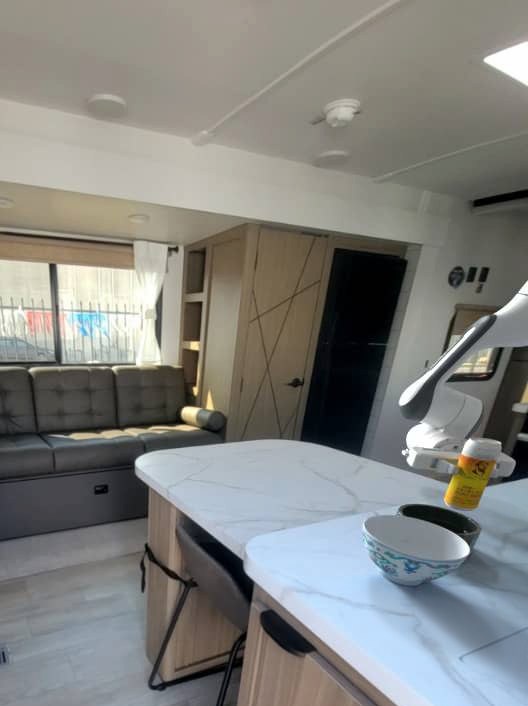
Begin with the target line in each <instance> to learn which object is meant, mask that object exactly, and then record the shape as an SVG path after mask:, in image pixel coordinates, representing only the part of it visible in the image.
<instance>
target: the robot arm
mask: <svg viewBox="0 0 528 706" xmlns="http://www.w3.org/2000/svg"><path fill="white" fill-rule="evenodd" d="M521 347H528V280H527V281H526V282H525V283H524V285H523V286H522V287H521V288H520V290H519V291H518V292H517V293H516V294H515V295H514V297H513V298H512V299H511V300H510V301H509V302H508V303H507V304H506V305H504V306H503V307H502V308H501V309H499V310H498V311H496V312H494V313H493V314H486V315H484V316H482V317H480V318H479V319H477V320H476V321H475V322H473V324H472V325H470V326H469V327H468V328H467V329H466V330H465V331H464V332H463V333H462V334H461V335H460V336H459V337H458V338H457V339H456V340H455V341H454V342H453V343H452V344H451V345H450V346H448V348H447V349H446V350H445V351H444V353H443V354H441V355H440V357H439V358H437V359H436V361H434V363H433V364H432V365H431V366H430V367H428V369H427V370H426V371H425V372H424V373H423V374H421V376H419V377H418V378H417V379H416V380H414V381H413V382H412V383H411V384H410V385H409V386H407V388H406V389H405V390H404V392H402V394H401V395H400V397H399V400H398V408H399V412H400V414H401V415H402V417H403V418H404V419H405V420H409V421H413V422H416V423H420V424H417V425H414V426H413V427H412V428H411V429H410V430H409V431H408V433H407V434H406V438H405V439H406V440H405V442H406V447H407V448H406V449H403V450H402V451H401V454H402V455H403V456H404V457H406V462H407V464H408V465H409V466H410V467H411V468H413V469H417V470H426V471H434V472H436V473H440V474H450V475H453V474H459V471H460V469H461V468H460V467H459V466H458V465H457V464H458V461H459V458H460V456H461V453H462V451H463V448H464V445H465V443H466V442H467V441H468V440H469V439H470V438H472V436H473V435H474V434H475V433H476V432H477V430H478V429H479V428H480V427H481V425H482V423H483V422H484V417H485V405H484V402H483V401H482V399H479V398H477V397H475V396H472V395H469V394H467V393H465V392H461V391H458V390H456V389H453V388H451V387H448V386H445V383H446V382H447V381H448V379H450V378H451V377H452V376H453V374H455V373H456V372H457V371H458V370H459V369H460V368H461V367H462V366H463V365H464V364H465V363H466V362H467V361H468V360H469V359H470V358H471V357H472V356H474V355H475V354H477V353H478V352H481V351H483V350H487V349H491V348H521ZM516 464H517V463H516V460H515V459H514V458H513V457H511V456H509V455H507V454H506V453H504V452H503V451H501V452H500V454H499V457H498V459H497V461H496V464H495V466H494V468H493V471H492V473H491V475H490V478H492V479H497V478H498V477H503V478H506V477H507V478H509V477H510V476H511V475H512V474H513V472H514V469H515V467H516ZM490 478H489V479H490Z"/></svg>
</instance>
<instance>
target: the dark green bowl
mask: <svg viewBox="0 0 528 706" xmlns="http://www.w3.org/2000/svg"><path fill="white" fill-rule="evenodd" d="M395 515H397V516H405V517H410V518H415V519H419V520H423V521H426V522H429V523H432V524H435V525H438V526H440V527H443V528H445V529H447V530H449V531H451V532H453V533H454V534H456V535H458V536H459V537H461V538H462V539H463V540H464V541H465V542H466V543H467V544H468V545H469V547H470V554H469V556H468V557H467V558H466V560H467V559H469V558H470V556H471V554H472V553H473V550H474V548H475V545H476V544H477V541H478V540H479V537H480V535H481V532H482V530H483V528H482V526H481V525H480V523H478V522H477V521H476V520H474V519H473V518H471V517H469V516H468V515H465V514H464V513H463V514H462V513H461V512H457V511H456V510H453V509H449V508H445V507H441V506H437V505H432V504H424V503H407V504H403V505H402V504H401V505H400V507H398V508H397V511H396V514H395Z"/></svg>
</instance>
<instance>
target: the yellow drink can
mask: <svg viewBox="0 0 528 706" xmlns="http://www.w3.org/2000/svg"><path fill="white" fill-rule="evenodd" d="M467 440H468V441H467V442H466V443H465V445H464V448H463V451H462V453H461V456H460V458H459V461H458V464H457V465H458V466H459V467H460V468H461V469H460V471H459V474H452V476H451V479H450V481H449V485H448V488H447V491H446V493H445V495H444V498H443V501H444V504H445V505H446V506H447V507H449V508H451V509H452V510H453V509H454V510H455V511H463V512H471V511H473V510H475V509H477V508H478V506H479V504H480V501H481V498H482V496H483V494H484V493H485V490H486V488H487V485H488V483H489V480H490V475H491V473H492V471H493V468H494V466H495V464H496V461H497V459H498V457H499V454H500V452H502V450H503V449H502V442H501V441H498V440H495V439H491V438H485V437H475V436H473V437H472V436H471V437H469V438H468V439H467Z"/></svg>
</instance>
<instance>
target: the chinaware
mask: <svg viewBox="0 0 528 706" xmlns="http://www.w3.org/2000/svg"><path fill="white" fill-rule="evenodd" d="M362 541H363V545H364V549H365V552H366V553H367V555H368V557H369V558H370V560H371V561H372V562H373V563H374V564H375V565H376V567H377V570H378V572H379V574H380V575H381V576H383V577H384V578H385V579H387V580H389V581H391V582H393V583H396V584H398V585H403V586H409V587H411V586H412V587H414V586H419V585H422V583H423V582H430V581H434V580H438V579H441V578H444V577H446V576H447V575H450V574H451V573H452V572H454V571H455V570H457V569H458V568H459V567H460V566H461V565H462V564H463V563H464V562H465V561H466V560H467V559H468V558H467V557H468V556H469V554H470V547H469V545H468V544H467V543H466V542H465V541H464V540H463V539H462V538H461V537H459V536H458V535H456V534H454V533H453V532H451V531H449V530H447V529H445V528H443V527H440V526H438V525H435V524H432V523H429V522H426V521H423V520H419V519H415V518H410V517H405V516H397V515H396V514H395V515H394V514H379V515H372V516H370V517H368V518H366V519H365V520H364V521H363V523H362ZM469 557H470V556H469ZM466 558H467V559H466Z"/></svg>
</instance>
